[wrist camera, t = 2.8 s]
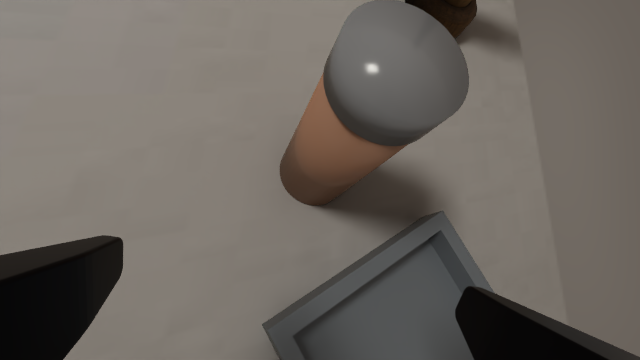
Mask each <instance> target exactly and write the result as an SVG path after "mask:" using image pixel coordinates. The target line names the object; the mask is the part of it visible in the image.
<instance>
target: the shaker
mask: <svg viewBox="0 0 640 360" xmlns="http://www.w3.org/2000/svg"><path fill="white" fill-rule="evenodd" d="M468 86H469V75H468V68H467V64H466V61H465V58H464V55H463V53H462V51H461V49H460V47H459V45H458V44H457V42H456V40H455V39H454V38H453V36H452V35H451V34H450V33H449V31H448V30H447V29H446V28H445V27H444V26H443V25H442V24H441V23H440V22H439V21H437V20H436V19H435V18H434V17H432V16H431V15H429V14H428V13H426V12H425V11H423V10H421V9H419V8H417V7H415V6H413V5H410V4H407V3H404V2H401V1H395V0H375V1H370V2H367V3H365V4H363V5H361V6H359V7H357V8H356V9H355V10H354V11H352V13H351V14H350V15H349V16H348V17H347V19H346V21H345V22H344V25H343V27H342V29H341V31H340V33H339V35H338V37H337V39H336V42H335V44H334V46H333V48H332V50H331V52H330V54H329V56H328V58H327V61H326V64H325V67H324V72H323V75H322V77H321V79H320V81H319V83H318V85H317V87H316V89H315V91H314V93H313V95H312V97H311V99H310V101H309V103H308V106H307V108H306V110H305V112H304V114H303V116H302V118H301V120H300V122H299V124H298V126H297V128H296V130H295V132H294V134H293V137H292V139H291V141H290V143H289V145H288V147H287V149H286V151H285V153H284V155H283V157H282V160H281V163H280V177H281V181H282V183H283V185H284V187H285V189H286V190H287V192H288V193H289V194H290V195H291V196H292V197H293V198H295V199H296V200H298V201H300V202H302V203H304V204H308V205H323V204H327V203H329V202H331V201H333V200H334V199H335V198H337V197H338V196H340V195H341V194H342V193H344V192H345V191H346V190H348V189H349V188H350V187H352V186H353V185H354V184H356V183H357V182H358V181H360V180H361V179H362V178H364V177H365V176H366V175H368V174H369V173H370V172H372V171H373V170H374V169H376V168H377V167H378V166H380V165H381V164H382V163H384V162H385V161H387V160H388V159H389V158H391V157H392V156H393V155H395V154H396V153H397V152H399V151H400V150H401V149H403V148H404V147H405V146H407V145H408V144H410V143H413V142H415V141H417V140H418V139H420V138H421V137H423V136H424V135H426V134H427V133H428V132H430V131H431V130H432V129H434V128H435V127H437V126H438V125H439V124H441V123H442V122H443V121H445V120H446V119H447V118H449V117H450V116H452V115H453V114H454V113H455V112H456V111H457V110H458V109H459V108H460V107H461V105H462V104H463V102H464V100H465V98H466V95H467V92H468Z"/></svg>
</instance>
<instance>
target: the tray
mask: <svg viewBox="0 0 640 360" xmlns="http://www.w3.org/2000/svg"><path fill="white" fill-rule="evenodd" d="M468 286H474V287H481V288H484V289H486V290H488V291H491V292H493V293H494V291H493V290H492V288H491V287H490V285H489V284H488V282H487V280H486V279H485V277H484V276H483V274H482V272H481V271H480V269H479V268H478V266H477V264H476V263H475V261H474V260H473V258H472V256H471V255H470V253H469V252H468V250H467V248H466V247H465V245H464V244H463V242H462V240H461V239H460V237H459V236H458V234H457V233H456V231H455V229H454V228H453V226H452V225H451V223H450V221H449V220H448V218H447V217H446V215H445V213H444V212H443V211H440V212H437V213H434V214H431V215H428V216H425V217H422V218H421V219H419V220H418V221H416V222H415V223H413V224H412V225H410V226H409V227H407V228H406V229H404V230H403V231H401V232H400V233H398V234H397V235H395V236H394V237H392V238H391V239H389V240H388V241H386V242H385V243H383V244H382V245H380V246H379V247H377V248H376V249H374V250H373V251H371V252H370V253H368V254H367V255H365V256H364V257H362V258H361V259H359V260H358V261H356V262H355V263H353V264H352V265H350V266H349V267H347V268H346V269H344V270H343V271H341V272H340V273H338V274H337V275H335V276H334V277H332V278H331V279H329V280H328V281H326V282H325V283H323V284H322V285H320V286H319V287H317V288H316V289H314V290H313V291H311V292H310V293H308V294H307V295H305V296H304V297H302V298H301V299H299V300H298V301H296V302H295V303H293V304H292V305H290V306H289V307H287V308H286V309H285V310H283V311H282V312H280V313H279V314H277V315H276V316H274V317H273V318H271V319H270V320H268V321H267V322H265V323H264V324H262V326H263V328H264V330H265V331H266V333H267V335H268V337H269V339H270V341H271V343H272V345H273V347H274V349H275V351H276V353H277V354H278V356H279V358H280V360H474V358H473V356H472V354H471V352H470V350H469V347H468V345H467V343H466V341H465V338H464V336H463V334H462V332H461V330H460V327H459V325H458V323H457V321H456V317H455V309H456V306H457V304H458V302H459V300H460V298H461V295H462V293H463V291H464V289H465V288H466V287H468Z"/></svg>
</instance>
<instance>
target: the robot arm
mask: <svg viewBox="0 0 640 360" xmlns="http://www.w3.org/2000/svg"><path fill="white" fill-rule="evenodd" d="M122 269H123V241H122V239H121V238H119V237H113V236H106V235H102V236H97V237H92V238H87V239H81V240H76V241H71V242H66V243H61V244H56V245H51V246H46V247H40V248H35V249H30V250H25V251H20V252H15V253H10V254H4V255H0V360H63V359H64V358H65V357H66V355H67V354H68V353H69V352H70V350H71V349H72V348H73V347H74V345H75V344H76V343H77V342H78V340H79V339H80V338H81V336H82V335H83V334H84V332H85V331H86V330H87V329H88V327H89V326H90V324H91V323H92V321H93V320H94V318H95V316H96V315H97V313H98V312H99V310H100V308H101V307H102V305H103V304H104V302H105V300H106V299H107V297H108V296H109V294H110V292H111V291H112V289H113V288H114V286H115V284H116V283H117V281H118V280H119V278H120V276H121V273H122ZM455 317H456V321H457V323H458V325H459V327H460V330H461V332H462V334H463V336H464V338H465V341H466V343H467V345H468V347H469V350H470V352H471V354H472V356H473V358H474V360H640V357H638V356H636V355H634V354H631V353H629V352H627V351H624V350H622V349H620V348H618V347H615V346H613V345H611V344H609V343H606V342H604V341H602V340H599V339H597V338H595V337H593V336H590V335H588V334H586V333H584V332H581V331H579V330H577V329H575V328H572V327H570V326H568V325H565V324H563V323H561V322H559V321H556V320H554V319H552V318H550V317H547V316H545V315H543V314H541V313H538V312H536V311H534V310H531V309H529V308H527V307H525V306H522V305H520V304H518V303H516V302H513V301H511V300H509V299H506V298H504V297H502V296H500V295H497V294H495V293H493V292H491V291H488V290H486V289H484V288H481V287H474V286H468V287H466V288H465V289H464V291H463V293H462V295H461V298H460V300H459V302H458V304H457V306H456V309H455Z"/></svg>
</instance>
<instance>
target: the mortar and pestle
mask: <svg viewBox="0 0 640 360" xmlns="http://www.w3.org/2000/svg"><path fill="white" fill-rule="evenodd" d="M405 3H407V4H410V5H413V6H415V7H417V8H419V9H421V10H423V11H425V12H426V13H428V14H429V15H431V16H432V17H434V18H435V19H436V20H437V21H439V22H440V23H441V24H442V25H443V26H444V27H445V28H446V29H447V30H448V31H449V33H450V34H451V35H452V36H453V38H456V37H457V36H458V35H460V34H461V32H462V31H463V30H464V29H465V28H466V27H467V26H468V25H469V24H470V23H471V21H472V20H473V19H474V17H475V16H476V12H477V5H476V0H405Z"/></svg>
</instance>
